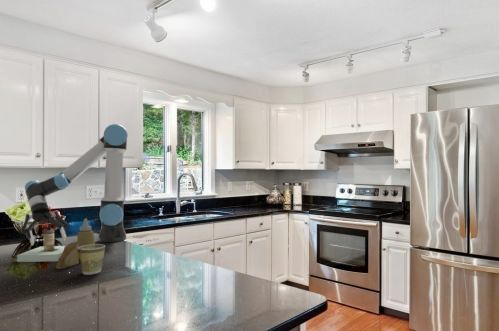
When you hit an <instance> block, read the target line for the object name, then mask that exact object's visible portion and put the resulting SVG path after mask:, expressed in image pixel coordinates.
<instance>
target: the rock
mask: <svg viewBox="0 0 499 331" xmlns="http://www.w3.org/2000/svg"><path fill="white" fill-rule="evenodd" d="M64 246H65V247H64V251H63V253H62V255H61V257H60V258H59V260H58V261H57V263H56V266H55V269H58V270H60V269H66V268H69V267H73V266H75V265H78V264H79V263H80V259H79V257H78V250H77V248H78V247H79V244H78V242H77V241H73V242H70V243H69V244H67V245H64Z"/></svg>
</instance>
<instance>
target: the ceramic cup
mask: <svg viewBox="0 0 499 331" xmlns="http://www.w3.org/2000/svg"><path fill="white" fill-rule="evenodd" d="M77 250H78V255H79V263H80V266H81V267H80V268H81V273H82V274H83V275H89V276H91V275H96V274H99V273H101V272H102V267H103V261H104V256H105V253H106V252H105V250H106V245H105V244H103V243H102V244H101V243H95V244H91V245H84V246H80V247H78V248H77Z"/></svg>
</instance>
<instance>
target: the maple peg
mask: <svg viewBox="0 0 499 331" xmlns="http://www.w3.org/2000/svg"><path fill="white" fill-rule="evenodd" d="M42 235H43V246H44V252H53V251H54V246H55V230H54V229H50V230H49V229H48V230H43V234H42Z"/></svg>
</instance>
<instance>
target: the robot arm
mask: <svg viewBox="0 0 499 331" xmlns="http://www.w3.org/2000/svg"><path fill="white" fill-rule="evenodd" d="M127 143H128V131H127V129H126V127H124V126H123V125H121V124H118V123H112V124H109V125H108V126H107V127H105V129H104V131H103V136H102V137H100V138H99V139H98V143H96V144H95V145H93V147H91V148H90V149H89V150H87V151H86V152H85V153H84V154H83V155H81V156H80V157H78V158H77V159H76V160H75V161H74V162H72V163H71V164H70V165H69V166H67V167H66V168H65V169H64V170H63V171H61V172H60V173H58V174H57V175H55V176H53V177H50V178H47V179H45V180H43V181H40V180H37V179H36V180H35V179H34V180H30V181H28V182H26V183H25V185H24V190H25V194H26V197H27V202H28V205H29V208H30V213H31V214H29V213H27V214H25V218H24V220H25V221H24V222H23V224H22V227H21V229H20V234H24V235H25V236H26V239H27V240H29V242H30V245H31V246H34V244H35V238H34V235H33V229H34V227H35V226H36V225H38V223H39V224H43V223H49V224H51V225H54V226H55V227H57V228H58V229H60V230H59V231H60V234H61V238H62V240H63V242H65V241H67V228H68V227H69V225H70V224H69V223H68V222H67V221H66V220H65V219H64V218H63V217H62V216H60V215H59V213H58V212H57V211H54V212H53V213H51V211H50V207H49V205H48V201H47V198H46V197H47V196H49V195H51V194H53V193H57V192H58V191H59V192H60V191H63V190H65V189H66V188H68V187H69V186H70V184H71V183H72V182H74V181H75V180H76V179H78V178H79V177H80V176H82V175H83V173H85V172H86V171H87V170H88V169H90V168H91V167H92V166H93V165H95V164H96V163H98V161H100V160H101V159H102V158H104V156H105V170H104V172H105V174H104V175H105V176H104V194H103V197H102V198H101V199H100V208H99V210H100V211H99V213H98V214H99V215H98V216H99V219H100V222H101V227H100V231H99V233H98V237H97V240H98V242H100V243H115V242H123V241H125V240H127V233H126V229H125V227H124V205H125V204H124V203H125V201H124V199H123V197H122V187H123V186H122V183H123V167H124V166H123V164H124V153H125V152H126V151H127V146H128V144H127ZM31 219H32V220H33V221H32V222H31V223H30V225H29V226H28V223H29V221H31ZM27 226H28V227H27Z"/></svg>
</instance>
